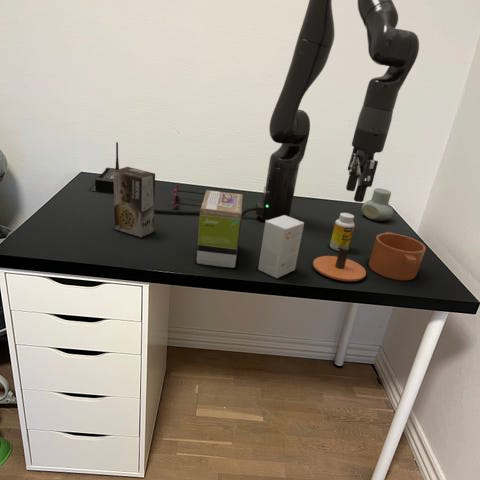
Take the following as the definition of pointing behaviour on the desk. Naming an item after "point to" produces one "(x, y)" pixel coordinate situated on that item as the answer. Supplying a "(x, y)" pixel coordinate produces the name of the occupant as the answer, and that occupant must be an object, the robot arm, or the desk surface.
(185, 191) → the glasses
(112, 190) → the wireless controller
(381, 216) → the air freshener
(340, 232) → the supplement bottle
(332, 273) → the orange pot lid
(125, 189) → the coffee box
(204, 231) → the tea box
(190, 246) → the desk surface
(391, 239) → the orange pot
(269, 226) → the small box
